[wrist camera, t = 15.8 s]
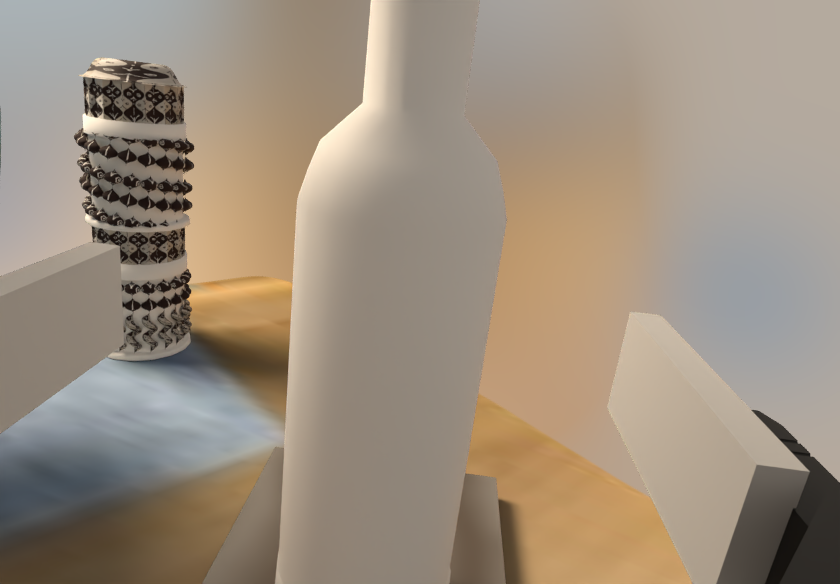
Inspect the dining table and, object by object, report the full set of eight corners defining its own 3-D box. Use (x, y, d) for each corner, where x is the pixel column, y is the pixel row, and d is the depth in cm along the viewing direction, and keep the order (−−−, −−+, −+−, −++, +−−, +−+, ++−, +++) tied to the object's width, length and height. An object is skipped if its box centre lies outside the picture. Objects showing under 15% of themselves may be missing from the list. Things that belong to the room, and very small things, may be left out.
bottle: (474, 654, 27) (621, -115, 17) (305, 726, 23) (378, -212, 14) (395, 536, 33) (472, -69, 24) (254, 577, 29) (280, -125, 20)
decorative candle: (126, 373, 50) (113, 58, 42) (67, 340, 55) (45, 50, 47) (215, 343, 58) (217, 71, 50) (156, 316, 62) (150, 63, 54)
